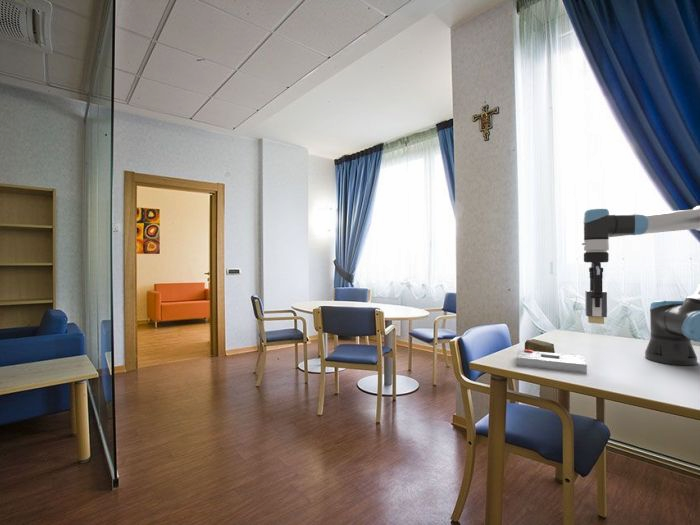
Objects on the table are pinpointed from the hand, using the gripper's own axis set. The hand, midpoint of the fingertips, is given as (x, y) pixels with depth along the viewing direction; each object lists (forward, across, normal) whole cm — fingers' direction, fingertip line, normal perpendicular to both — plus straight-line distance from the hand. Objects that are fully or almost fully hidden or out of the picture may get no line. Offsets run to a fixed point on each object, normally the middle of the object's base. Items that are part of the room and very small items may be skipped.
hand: (595, 315), depth 133 cm
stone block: (+19, -14, -18) cm, 30 cm away
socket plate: (+19, +4, -15) cm, 24 cm away
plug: (+3, 0, 0) cm, 3 cm away
